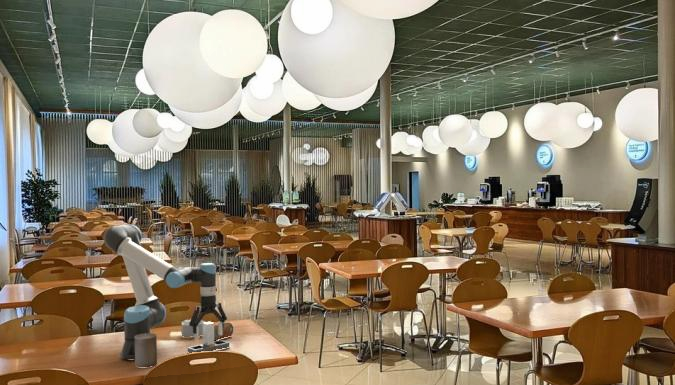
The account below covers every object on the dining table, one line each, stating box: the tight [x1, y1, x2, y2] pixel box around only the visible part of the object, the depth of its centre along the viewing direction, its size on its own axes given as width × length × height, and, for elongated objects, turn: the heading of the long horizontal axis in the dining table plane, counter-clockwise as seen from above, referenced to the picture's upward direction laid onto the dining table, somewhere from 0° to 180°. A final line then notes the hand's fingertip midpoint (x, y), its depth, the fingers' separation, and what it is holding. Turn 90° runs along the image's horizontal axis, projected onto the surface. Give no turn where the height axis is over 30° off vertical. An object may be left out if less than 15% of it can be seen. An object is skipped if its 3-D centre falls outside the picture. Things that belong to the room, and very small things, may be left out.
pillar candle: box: [134, 332, 158, 368], centre depth 268 cm, size 10×10×15 cm
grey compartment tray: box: [187, 340, 230, 353], centre depth 291 cm, size 19×7×3 cm, turn 134°
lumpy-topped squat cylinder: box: [180, 318, 206, 337], centre depth 322 cm, size 10×13×9 cm
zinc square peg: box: [202, 321, 215, 347], centre depth 291 cm, size 4×4×14 cm
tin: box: [214, 322, 234, 340], centre depth 314 cm, size 15×3×8 cm, turn 143°
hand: (208, 337), depth 291 cm, fingers open, 13 cm apart
